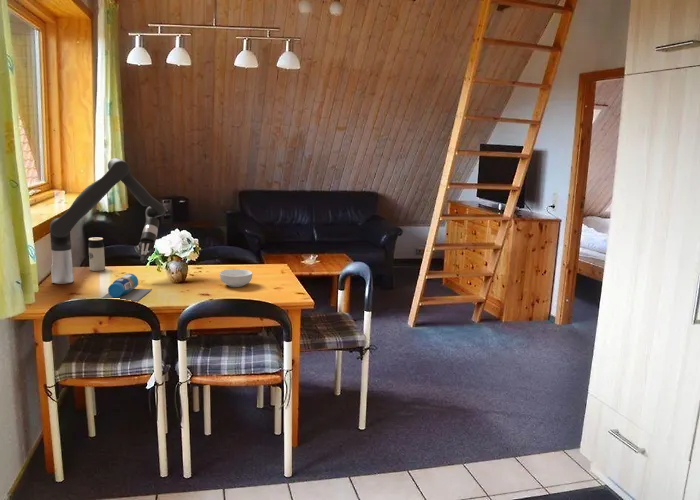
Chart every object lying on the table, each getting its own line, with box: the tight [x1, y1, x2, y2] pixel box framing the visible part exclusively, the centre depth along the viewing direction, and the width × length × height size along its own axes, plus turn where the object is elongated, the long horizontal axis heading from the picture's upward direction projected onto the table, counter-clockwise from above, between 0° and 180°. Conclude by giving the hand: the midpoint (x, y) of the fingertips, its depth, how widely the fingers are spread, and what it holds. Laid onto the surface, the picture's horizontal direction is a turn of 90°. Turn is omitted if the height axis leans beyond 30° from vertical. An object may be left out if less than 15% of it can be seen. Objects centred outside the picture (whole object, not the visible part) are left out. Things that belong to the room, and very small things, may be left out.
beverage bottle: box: [107, 272, 139, 297], centre depth 283 cm, size 8×8×20 cm
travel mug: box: [87, 237, 106, 272], centre depth 330 cm, size 8×8×18 cm
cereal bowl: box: [219, 268, 253, 288], centre depth 307 cm, size 17×17×7 cm
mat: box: [101, 288, 152, 302], centre depth 283 cm, size 18×21×1 cm
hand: (142, 262), depth 305 cm, fingers closed
